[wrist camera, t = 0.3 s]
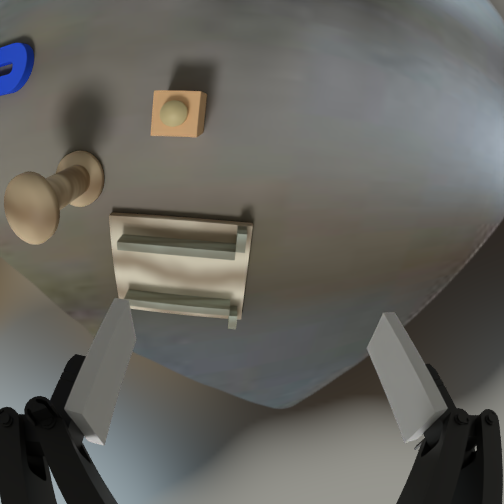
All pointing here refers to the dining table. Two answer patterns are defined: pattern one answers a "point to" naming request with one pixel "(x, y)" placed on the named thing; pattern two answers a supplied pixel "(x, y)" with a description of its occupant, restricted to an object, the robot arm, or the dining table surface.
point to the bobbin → (51, 195)
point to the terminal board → (181, 264)
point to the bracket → (15, 66)
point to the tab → (178, 113)
